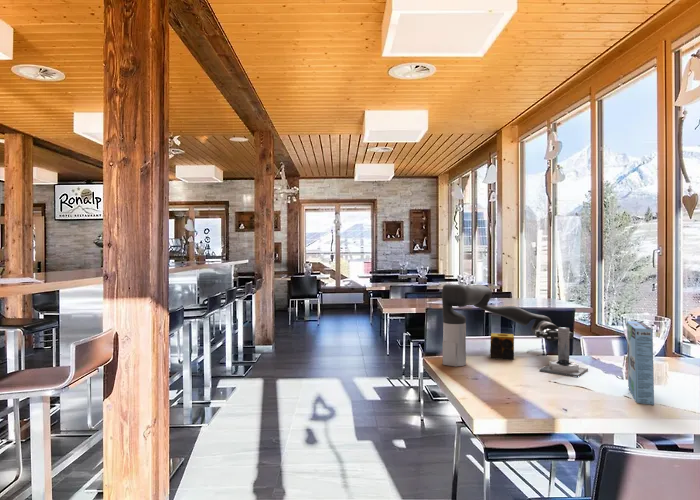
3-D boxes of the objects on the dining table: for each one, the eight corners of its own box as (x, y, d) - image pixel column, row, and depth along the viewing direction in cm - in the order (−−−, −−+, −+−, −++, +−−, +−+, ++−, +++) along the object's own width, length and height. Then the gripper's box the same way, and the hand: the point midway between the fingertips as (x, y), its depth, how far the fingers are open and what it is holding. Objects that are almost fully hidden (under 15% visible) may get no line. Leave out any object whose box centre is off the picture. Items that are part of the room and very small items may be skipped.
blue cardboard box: (654, 405, 142) (653, 329, 142) (634, 403, 144) (634, 328, 144) (644, 389, 159) (643, 321, 160) (626, 387, 161) (626, 320, 162)
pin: (567, 370, 182) (567, 329, 182) (556, 368, 185) (556, 328, 185) (570, 368, 185) (570, 328, 185) (559, 367, 188) (559, 327, 188)
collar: (577, 377, 175) (577, 369, 175) (539, 371, 184) (539, 363, 184) (588, 370, 186) (587, 362, 186) (551, 365, 195) (551, 357, 195)
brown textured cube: (490, 358, 207) (489, 336, 208) (490, 354, 217) (490, 332, 217) (514, 360, 204) (514, 337, 205) (513, 355, 214) (513, 333, 214)
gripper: (531, 322, 212) (539, 327, 196) (565, 323, 210) (575, 328, 194) (532, 338, 212) (539, 345, 196) (565, 340, 209) (575, 346, 193)
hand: (557, 336), depth 195 cm, fingers open, 8 cm apart
